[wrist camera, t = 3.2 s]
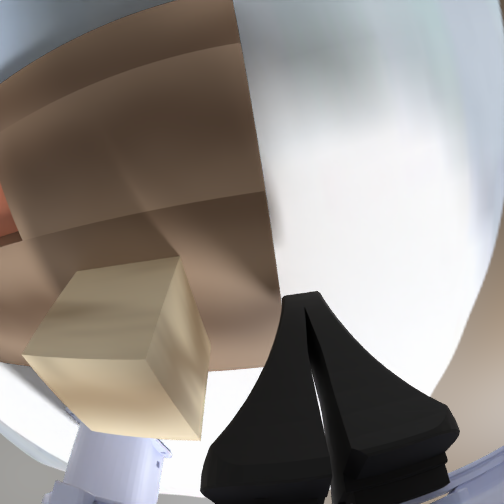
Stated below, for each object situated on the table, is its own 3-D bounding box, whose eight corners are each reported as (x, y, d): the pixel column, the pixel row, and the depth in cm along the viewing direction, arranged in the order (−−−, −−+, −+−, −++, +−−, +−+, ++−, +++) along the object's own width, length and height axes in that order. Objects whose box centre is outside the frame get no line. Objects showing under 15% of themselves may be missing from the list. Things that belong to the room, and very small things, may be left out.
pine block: (211, 345, 14) (200, 440, 10) (119, 349, 14) (92, 430, 10) (179, 255, 11) (145, 359, 7) (76, 271, 12) (21, 354, 7)
